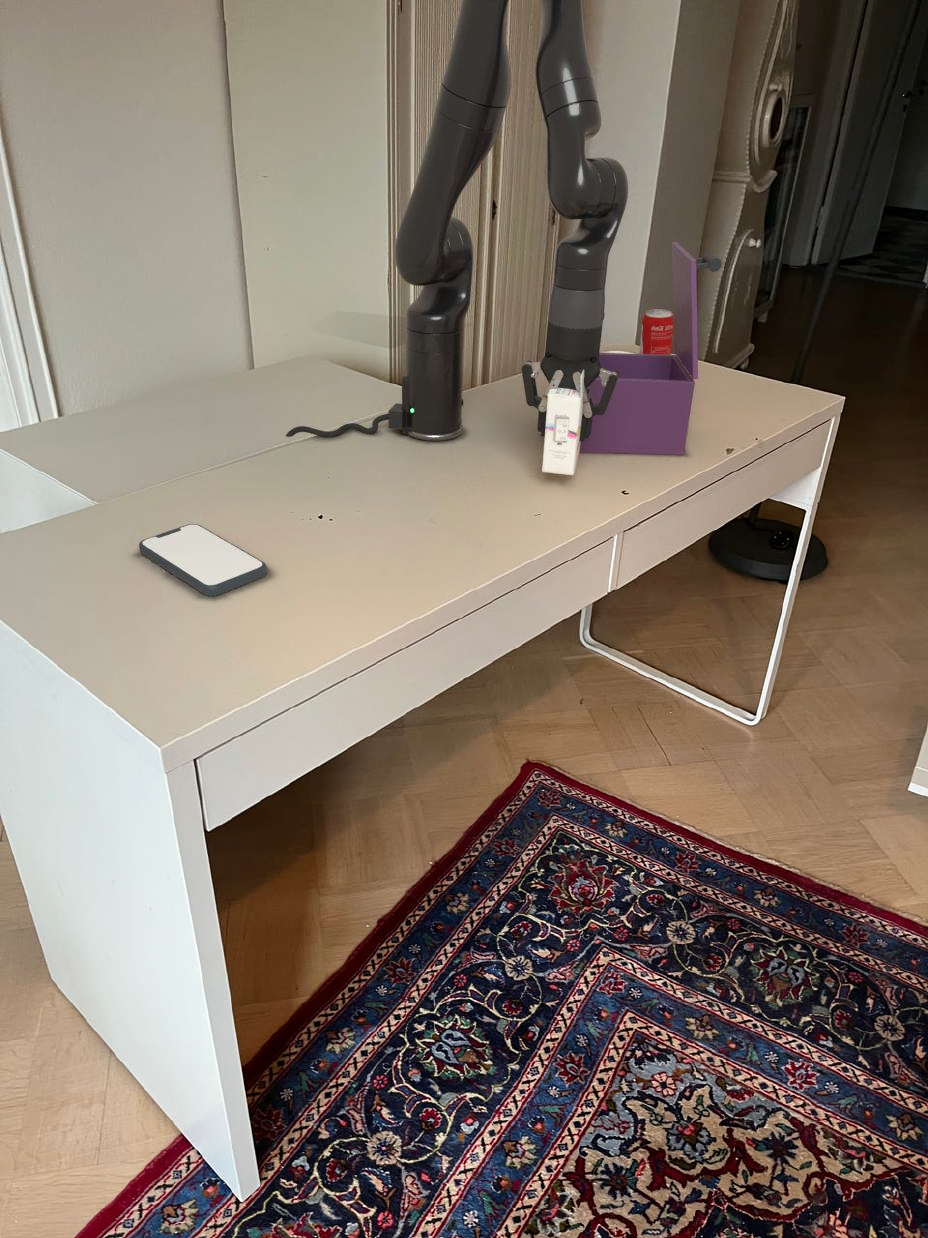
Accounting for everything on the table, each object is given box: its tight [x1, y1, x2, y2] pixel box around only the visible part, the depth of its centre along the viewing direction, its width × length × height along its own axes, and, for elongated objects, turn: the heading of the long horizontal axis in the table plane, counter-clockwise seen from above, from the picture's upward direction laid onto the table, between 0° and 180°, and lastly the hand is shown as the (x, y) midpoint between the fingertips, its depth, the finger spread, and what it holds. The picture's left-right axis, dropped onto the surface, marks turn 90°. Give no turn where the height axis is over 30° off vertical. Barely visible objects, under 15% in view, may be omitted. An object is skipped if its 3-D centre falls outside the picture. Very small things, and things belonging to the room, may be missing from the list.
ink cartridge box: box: [541, 370, 584, 476], centre depth 138 cm, size 9×5×15 cm, turn 168°
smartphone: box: [138, 523, 268, 597], centre depth 117 cm, size 9×2×16 cm
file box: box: [580, 352, 696, 456], centre depth 157 cm, size 17×15×12 cm
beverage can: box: [638, 308, 674, 355], centre depth 177 cm, size 6×6×15 cm
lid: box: [671, 241, 723, 380], centre depth 149 cm, size 18×15×6 cm
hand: (563, 436), depth 140 cm, fingers closed on ink cartridge box, 5 cm apart
